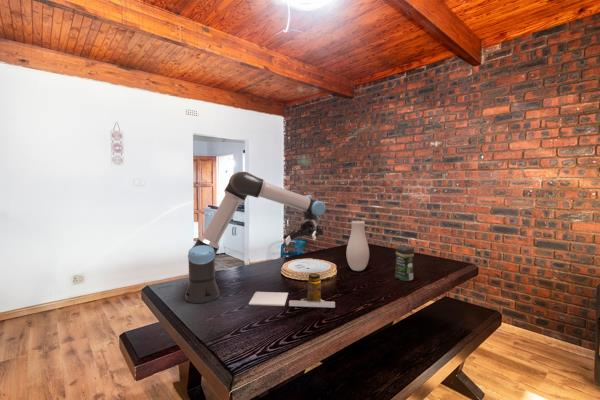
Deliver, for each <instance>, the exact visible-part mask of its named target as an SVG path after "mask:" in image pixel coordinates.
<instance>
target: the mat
mask: <svg viewBox="0 0 600 400" xmlns="http://www.w3.org/2000/svg"><path fill="white" fill-rule="evenodd" d="M288 295H289V292H280V291H279V292H273V291H270V292H269V291H255V293H254V294H253V296H252V297H251V299H250V301H249V302H248V305H249V306H271V307H272V306H273V307H274V306H277V307H285V305H286V303H287V299H288V297H289V296H288Z"/></svg>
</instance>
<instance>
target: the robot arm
mask: <svg viewBox="0 0 600 400" xmlns="http://www.w3.org/2000/svg"><path fill="white" fill-rule="evenodd" d="M248 196H249V197H253V198H257V199H258V198H260V197H261V198H263V199H266V200H269V201H271V202H274V203H278V204H280V205H284V206H287V207H290V208H293V209H297V210H299V211H301V212H302V215H303V222H302V224H301V226H300V228H299V229H298V230H297V229H294V230H292V231H291V232H289V233H287V234H284V235H283V239H284V241H285V245H286V246H288V245H289V244H290V243H291V242H292V240H293V239H296V238H301V237H303V236H306V237H310V236H311V237H312V241H316V239H317V238H318V237H319V236H320V235H324V230H323V228H321V227H319V224H320V216H322V215H324V213H325V212H326V209H327V207H326V204H325V203H324V202H322V201H321V200H316V199H314V198H313V196H312V194H307V195H302V194H299V193H296V192H293V191H292V190H289V189H285V188H282V187H279V186H276V185H274V184H271V183H268V182H265V179H263V178H260V177H258V176H256V175H254V174H253V173H250V172H248V171H238V172H235V173H233V174H232V175H231V176H230V177H229V180H228V183H227V185H226V187H225V188H224V197H223V199H222V200H221V201H220V204H219V206H218V208H217V210H215V213H214V215H213V217H212V219H211V220H210V222H209V224H208V226H207V228H206V229H205V230H204V233H203V235H201V236H198V238H197V239H196V241H195V243H194V245H193V246H192V247H191V248H190V249H189V250H188V254H187V259H188V285H187V288H186V290H185V293H184V294H185V295H184V298H185V299H186V300H185V301H186V302H187V301H188V303H191V304H204V303H209V302H212V301H214V300H216V299H218V298H219V296H220V290H219V287H218V285H217V282H216V272H215V271H216V268H215V263H216V262H215V256H216V254H217V253H218V250H219V249H220V246H219V242H220V241H221V239H222V236H224V233H225V231H226V229H227V227H228V225H229V224H230V223H231V221H232V219H233V217H234V215H235V213H236V211H237V210H238V207H239V206H240V204H241V203H243V202H245V200H246V199H247V198H248Z"/></svg>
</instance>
